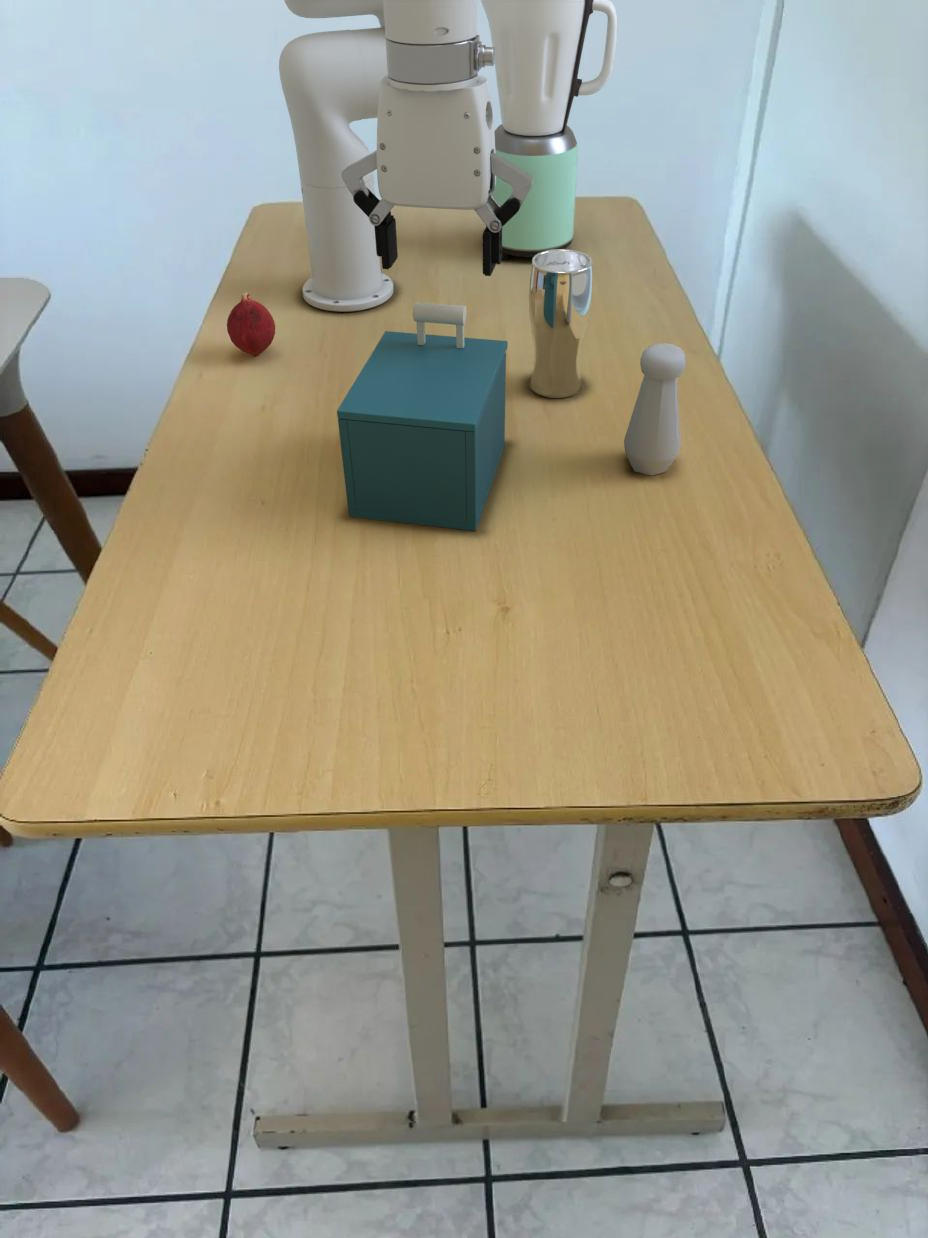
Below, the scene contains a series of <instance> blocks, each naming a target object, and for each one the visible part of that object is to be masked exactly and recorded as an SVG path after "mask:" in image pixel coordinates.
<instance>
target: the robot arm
mask: <svg viewBox="0 0 928 1238" xmlns="http://www.w3.org/2000/svg"><path fill="white" fill-rule="evenodd" d="M283 1H284V3H285V5H286V7H287V9H288V10H289V11H290V13H292V14H293V15H295V16H298V17H301V18H304V19H332V18H345V17H355V16H356V17H358V16H369V15H372V16H375V17H376V18H377V20H378V23H379V26H380V27H371V28H370V27H369V28H358V29H341V30H328V31H320V32H312V33H306V34H302V35H300V36H297V37H295V38H293V39H292V40H290V41H289V42H288V43H287V44H286V45H285V46H284V47H283V49H282V51H281V52H280V55H279V59H278V71H279V79H280V80H279V81H280V85H281V89H282V92H283V96H284V99H285V104H286V107H287V111H288V116H289V119H290V124H291V129H292V133H293V138H294V144H295V151H296V158H297V159H296V160H297V166H298V175H299V179H300V180H299V181H300V189H301V197H302V205H303V212H304V213H303V214H304V221H305V230H306V237H307V245H308V246H307V247H308V254H309V262H310V263H309V264H310V271H311V277H310V278H308V279H307V280H306V281H305V283H304V284H303V286H302V289H301V290H302V297H303V300H304V301H305V302H306V303H307V304H308V305H310V306H312V307H314V308H316V309H320V310H324V311H327V312H336V313H338V312H340V313H341V312H342V313H343V312H344V313H346V312H348V313H349V312H359V311H364V310H368V309H372V308H375V307H378V306H380V305H382V304H384V303H385V302H387V301H389V300H390V298H391V297H392V296H393V294H394V282H393V280H392V279H391V277H389V276H388V275H387V274H385V273H383V272H382V270H389V269H391V268H392V267H393V265H394V264H395V263H396V261H397V259H398V257H399V254H398V253H399V252H398V235H397V222H396V217H394V214H393V215H392V212H391V211H392V209H393V208H394V207H395V206H397V207H406V208H422V209H423V208H424V209H439V210H440V209H442V210H461V211H463V210H464V211H465V210H466V211H470V210H473V211H474V212H475V213H476V214H477V216H478V218H480V220H481V221H482V222H483V223H484V225H485V228H484V230H483V232H482V275H484V276H485V277H491V276H492V274H493V272H494V270H495V268H496V265H500V264H501V263H502V260H503V259H502V227H503V226H504V225H505V224H506V223H507V222H508V221H509V220H510V219H511V218H512V217H513V216H514V215H515V214H516V213H517V212H518V211H519V209H520V207H521V205H522V203H523V201H524V200H525V198H526V196H527V194H528V192H529V190H530V188H531V186H532V184H533V181H534V179H533V177H532V176H531V175H530V174H528V173H527V172H525V171H523V170H522V169H520V168H518V167H517V166H515V165H514V164H512V163H510V162H509V161H507V160H505V159H504V158H502V157H500V156H499V155H497V154H496V152H495V134H494V131H495V124H494V113H493V104H492V97H491V90H490V86H489V81H488V77H486V76H484V75H480V74H479V71H481V69H482V68H486V66H487V67H488V66H489V67H493V66H494V67H495V64H494V63H495V48H494V47H492V46H487V45H486V44H483V43H482V40H481V41H480V34H478V0H283ZM368 119H377V120H376V122H377V123H376V150H375V151H373V152H370V150H369V148H368V147H367V145H366V144H365V142H364V141H363V140H362V139H361V138H360V137H359V136H358V135H357V134H356V133H355V132H354V131H353V130H352V129H351V127H350V125H351V123H353V122H357V121H362V120H368ZM375 171H376V177H377V189H378V193H379V197H380V198H381V199H379V198H378V197H377V196H376V184H375V183H376V182H375ZM496 176H497V177H499V178H500V179H502V180H504V181H505V182H507V183H509V184H510V185H511V186H512V187H513V193H512V195H511V197H510V198H509V199H508V200H507V201H506V202H505V203H504V204H503V205H502V206H501V205H500V204H499V203H498V201H497V200H496V199H495V197H494V196H493V195H492V194H491V192H493V191H494V189H495V185H496Z"/></svg>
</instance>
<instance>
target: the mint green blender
mask: <svg viewBox="0 0 928 1238" xmlns="http://www.w3.org/2000/svg"><path fill="white" fill-rule="evenodd" d="M480 2H481V5H482V8H483V10H484V13H485V16H486V19H487V22H488V27H489V33H490V40H491V47H494V48H495V63H494V71H495V79H496V88H497V95H498V102H499V103H498V104H499V110H500V118H501V124H499V125H498V126H497V127H496V129H494V134H495V152H496V154H497V155H499V156H500V157H502V158H504V159H505V160H507V161H509V162H510V163H512V164H514V165H515V166H517V167H518V168H520V169H522V170H523V171H525V172H527V173H528V174H530V175H531V176H532V177H533V179H534V181H533V184H532V186H531V188H530V190H529V192H528V194H527V196H526V198H525V200H524V201H523V203H522V205H521V207H520V209H519V211H518V212H517V213H516V214H515V215H514V216H513V217H512V218H511V219H510V220H509V221H508V222H507V223H506V224H505V225H504V226H503V227H502V259H501V260H507V259H509V258H510V256H512V257H520V258H533V257H534V256H535V255H537V254H538V253H541V252H543V251H547V250H553V249H568V247H569V246H570V245H571V244H572V242H573V239H574V236H575V216H576V200H577V184H578V183H577V181H578V163H579V149H578V147H579V146H578V142H577V139H576V136H575V134H574V131H573V129H572V128H571V127H570V126H569V125H568V121H569V118H570V114H571V109H572V105H573V102H574V98H575V97H576V98H578V97H579V96H591V95H593V94H596V93H598V92H599V91H601V90H602V89H603V88H604V87H605V86H606V85H607V83H608V82H609V81H610V78H611V76H612V73H613V69H614V66H615V60H616V54H617V53H616V52H617V40H618V29H619V27H618V25H619V24H618V23H619V21H618V12H617V8H616V5H615V4H614V3H613V1H611V0H480ZM594 11H597V12H601V13H604V14H605V15H606V17H607V25H606V35H605V36H606V37H605V44H604V51H603V52H604V53H603V59H602V65H601V70H600V72H599V74H598V75H597V76H596V77H595V78H593V79H591V80H587V81H583V79H582V78H578V77H579V70H580V64H581V59H582V54H583V48H584V43H585V39H586V33H587V28H588V25H589V20H590V16H591V15H592V14H593V13H594ZM512 193H513V187H512V186H511V185H510V184H509V183H507V182H505V181H504V180H502V179H500V178H499V177H497V176H496V185H495V189H494V191H493V192H491V194H492V195H493V196H494V197H495V199H496V200H497V201H498V203H499V204H500V205H501V206H502V205H503V204H504V203H505V202H506V201H507V200H508V199H509V198H510V197H511V195H512Z"/></svg>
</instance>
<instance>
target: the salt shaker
mask: <svg viewBox="0 0 928 1238" xmlns="http://www.w3.org/2000/svg"><path fill="white" fill-rule="evenodd" d="M686 359H687V358H686V353H685V352H684V351H683V349H682V348H680V347H679V346H677V345H675V344H672V343H664V342H661V343H653V344H650V345H649V346H647V347H645V349H644V350H643V351H642V353H641V356H640V359H639V361H640V362H639V366H640V370H641V373H642V374H643V378H642V381H641V384H640V387H639V391H638V394H637V397H636V400H635V403H634V407H633V410H632V413H631V416H630V419H629V422H628V426H627V429H626V433H625V435H624V439H623V446H624V447H623V448H624V452H625V455H626V458H627V459H628V463H629V464H630V466H631V468H632V469H633V471H634V472H636V473H639V474H643V475H647V476H655V475H659V474H664V473H666V472H667V471H668V470H669V468H670V467H671V466H672V464H673V463H674V461H675V460H676V458H677V457H678V455H679V454H680V451H681V449H682V448H681V447H682V446H681V432H680V431H681V430H680V418H679V417H680V415H679V398H678V395H679V394H678V378H680V377H681V376H682V375H683V373H684V372H685V369H686V365H687V361H686Z"/></svg>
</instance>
